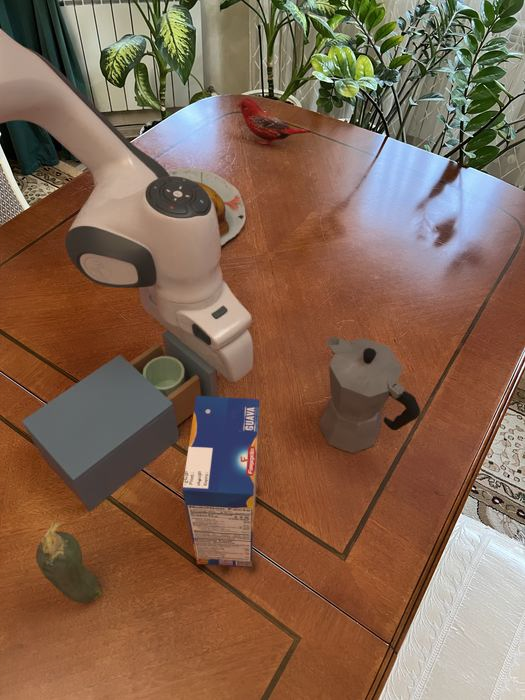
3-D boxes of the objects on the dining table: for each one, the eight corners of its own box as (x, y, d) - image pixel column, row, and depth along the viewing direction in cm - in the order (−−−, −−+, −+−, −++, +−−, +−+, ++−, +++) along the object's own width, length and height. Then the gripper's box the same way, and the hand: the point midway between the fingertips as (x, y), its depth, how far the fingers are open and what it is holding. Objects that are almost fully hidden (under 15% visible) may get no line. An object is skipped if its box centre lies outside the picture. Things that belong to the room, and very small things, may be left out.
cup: (140, 395, 85) (134, 372, 81) (170, 373, 88) (166, 349, 83) (165, 419, 83) (160, 396, 78) (195, 396, 85) (192, 372, 81)
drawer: (198, 343, 93) (194, 310, 87) (242, 380, 89) (242, 348, 83) (97, 416, 84) (86, 385, 78) (141, 461, 80) (133, 433, 74)
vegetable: (72, 617, 68) (20, 561, 52) (65, 582, 70) (13, 519, 55) (109, 601, 69) (69, 543, 53) (100, 568, 72) (59, 502, 56)
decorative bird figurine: (239, 134, 133) (239, 92, 125) (311, 153, 129) (315, 111, 121) (234, 140, 132) (233, 99, 124) (306, 159, 128) (310, 117, 120)
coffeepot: (295, 416, 86) (305, 340, 72) (337, 382, 90) (355, 304, 76) (374, 487, 79) (402, 418, 65) (416, 446, 83) (451, 373, 69)
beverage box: (197, 565, 72) (182, 490, 55) (206, 484, 79) (196, 395, 62) (251, 568, 72) (253, 494, 55) (256, 486, 79) (259, 398, 62)
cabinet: (130, 392, 88) (119, 353, 80) (179, 439, 83) (173, 403, 76) (41, 456, 81) (20, 421, 73) (89, 512, 76) (72, 480, 69)
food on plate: (222, 170, 124) (222, 143, 119) (265, 242, 110) (266, 215, 105) (106, 194, 118) (100, 167, 113) (135, 274, 104) (130, 247, 99)
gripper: (121, 267, 78) (137, 332, 88) (225, 350, 69) (228, 412, 80) (157, 245, 80) (168, 311, 91) (261, 323, 72) (260, 385, 83)
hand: (197, 359), depth 86 cm, fingers closed, pressing on drawer
